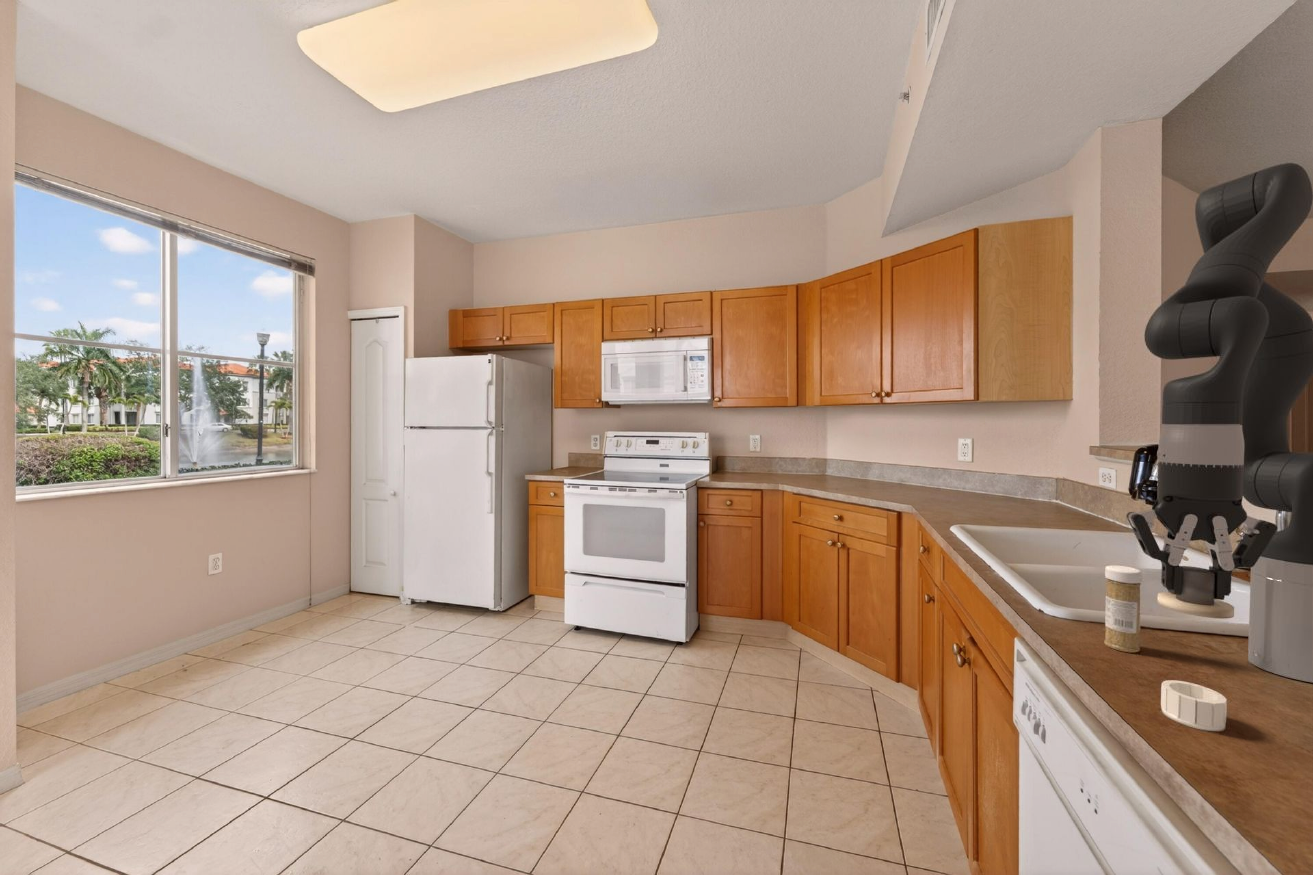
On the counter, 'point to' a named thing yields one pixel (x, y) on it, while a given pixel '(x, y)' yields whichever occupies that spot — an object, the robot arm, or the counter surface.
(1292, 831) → the counter surface
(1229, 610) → the lid
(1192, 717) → the bowl
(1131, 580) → the sprinkles bottle
